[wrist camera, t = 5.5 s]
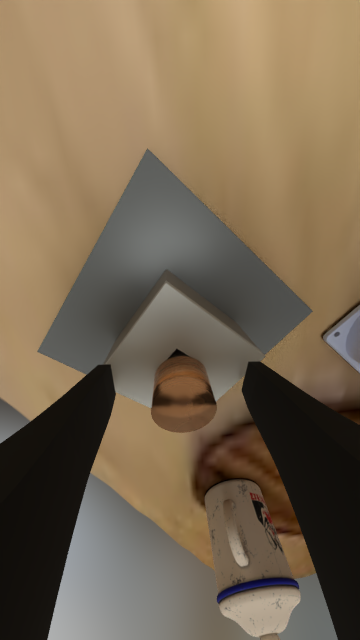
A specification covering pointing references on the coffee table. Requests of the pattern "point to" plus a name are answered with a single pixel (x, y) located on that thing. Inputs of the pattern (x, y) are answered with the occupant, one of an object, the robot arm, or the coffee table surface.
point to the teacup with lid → (249, 560)
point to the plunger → (182, 394)
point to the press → (170, 293)
